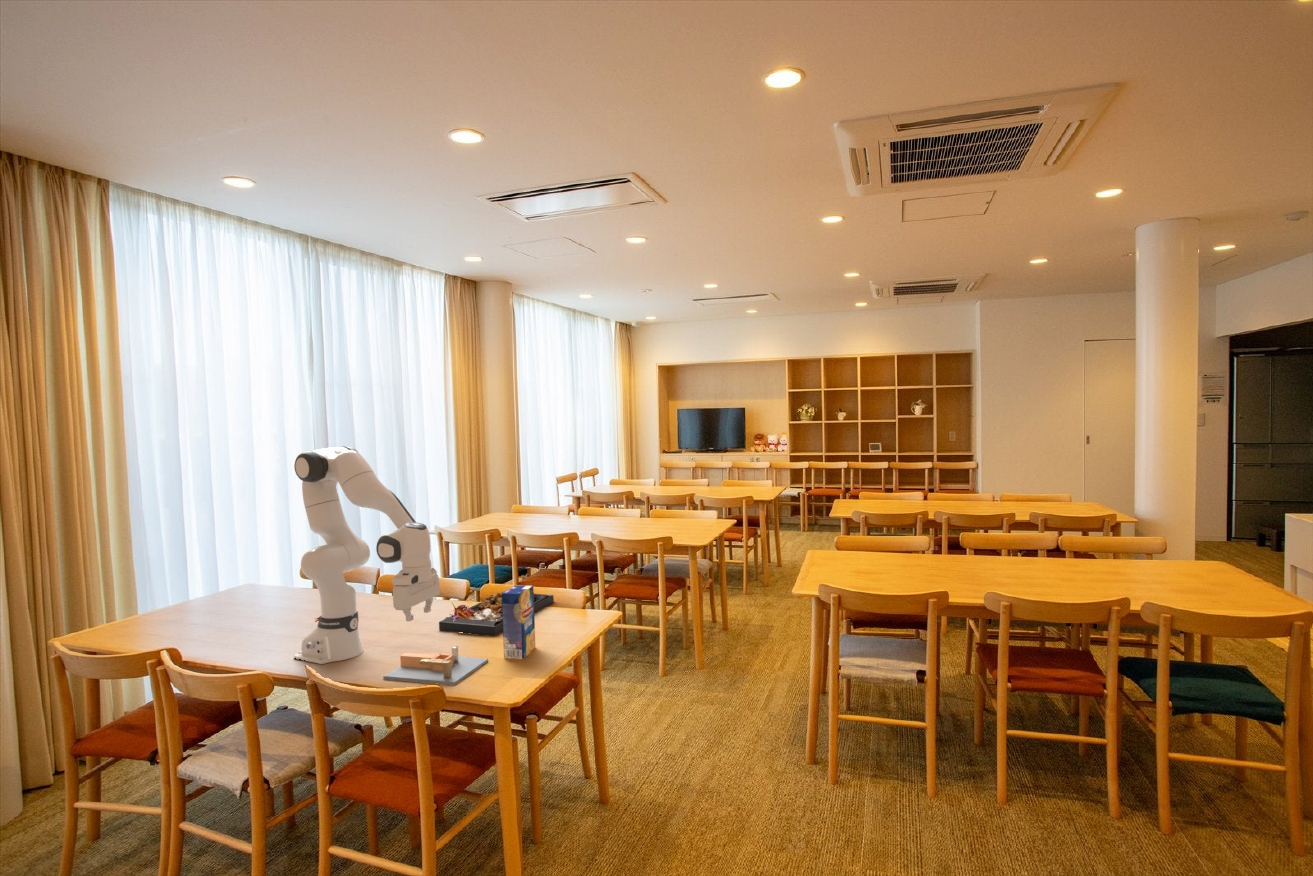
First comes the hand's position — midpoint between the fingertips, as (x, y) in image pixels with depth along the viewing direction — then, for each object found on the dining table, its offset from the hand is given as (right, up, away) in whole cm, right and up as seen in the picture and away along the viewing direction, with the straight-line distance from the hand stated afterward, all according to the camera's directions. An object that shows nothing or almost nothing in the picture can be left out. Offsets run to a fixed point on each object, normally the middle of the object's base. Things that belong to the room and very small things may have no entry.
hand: (418, 616), depth 220 cm
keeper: (+8, -16, -9) cm, 20 cm away
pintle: (+11, -16, +3) cm, 19 cm away
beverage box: (+30, -16, +12) cm, 36 cm away
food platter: (+13, -16, +56) cm, 60 cm away
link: (+3, -16, 0) cm, 16 cm away
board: (+6, -17, -1) cm, 18 cm away
